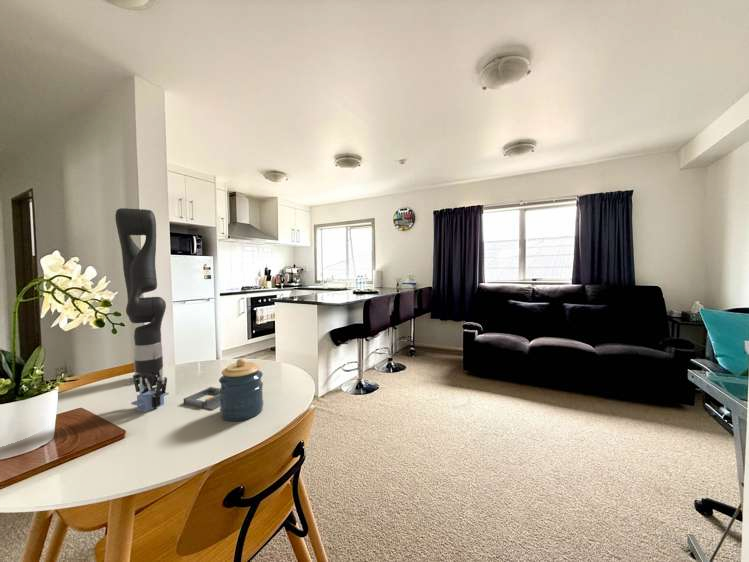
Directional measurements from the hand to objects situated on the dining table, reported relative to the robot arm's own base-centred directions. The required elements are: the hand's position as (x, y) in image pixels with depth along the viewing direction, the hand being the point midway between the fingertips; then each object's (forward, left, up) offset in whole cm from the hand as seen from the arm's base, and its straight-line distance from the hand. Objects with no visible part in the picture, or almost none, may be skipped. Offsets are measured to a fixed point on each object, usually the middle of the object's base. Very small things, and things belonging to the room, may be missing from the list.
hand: (151, 405), depth 102 cm
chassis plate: (+15, +11, -1) cm, 19 cm away
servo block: (0, 0, -1) cm, 1 cm away
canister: (+32, +8, -1) cm, 33 cm away
